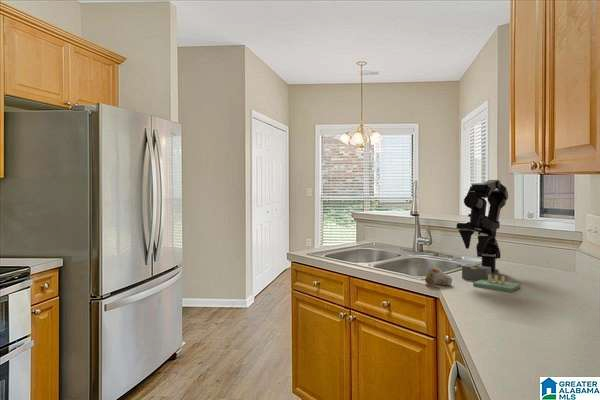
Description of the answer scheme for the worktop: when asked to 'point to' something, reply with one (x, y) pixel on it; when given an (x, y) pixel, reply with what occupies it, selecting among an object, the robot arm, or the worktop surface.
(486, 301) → the worktop surface
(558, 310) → the worktop surface
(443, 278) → the grey lumpy rounded lump
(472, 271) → the block
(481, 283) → the board
